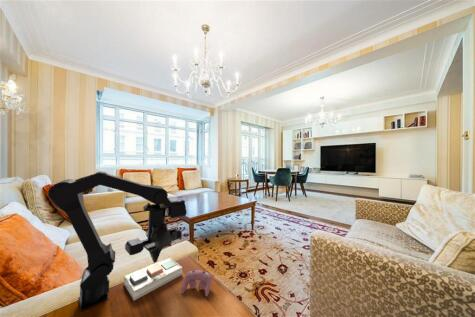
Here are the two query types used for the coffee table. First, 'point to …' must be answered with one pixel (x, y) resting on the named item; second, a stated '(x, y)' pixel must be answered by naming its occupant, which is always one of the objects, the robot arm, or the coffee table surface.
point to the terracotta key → (154, 270)
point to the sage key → (168, 265)
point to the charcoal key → (138, 277)
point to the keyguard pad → (152, 279)
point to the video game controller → (197, 275)
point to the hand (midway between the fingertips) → (154, 262)
